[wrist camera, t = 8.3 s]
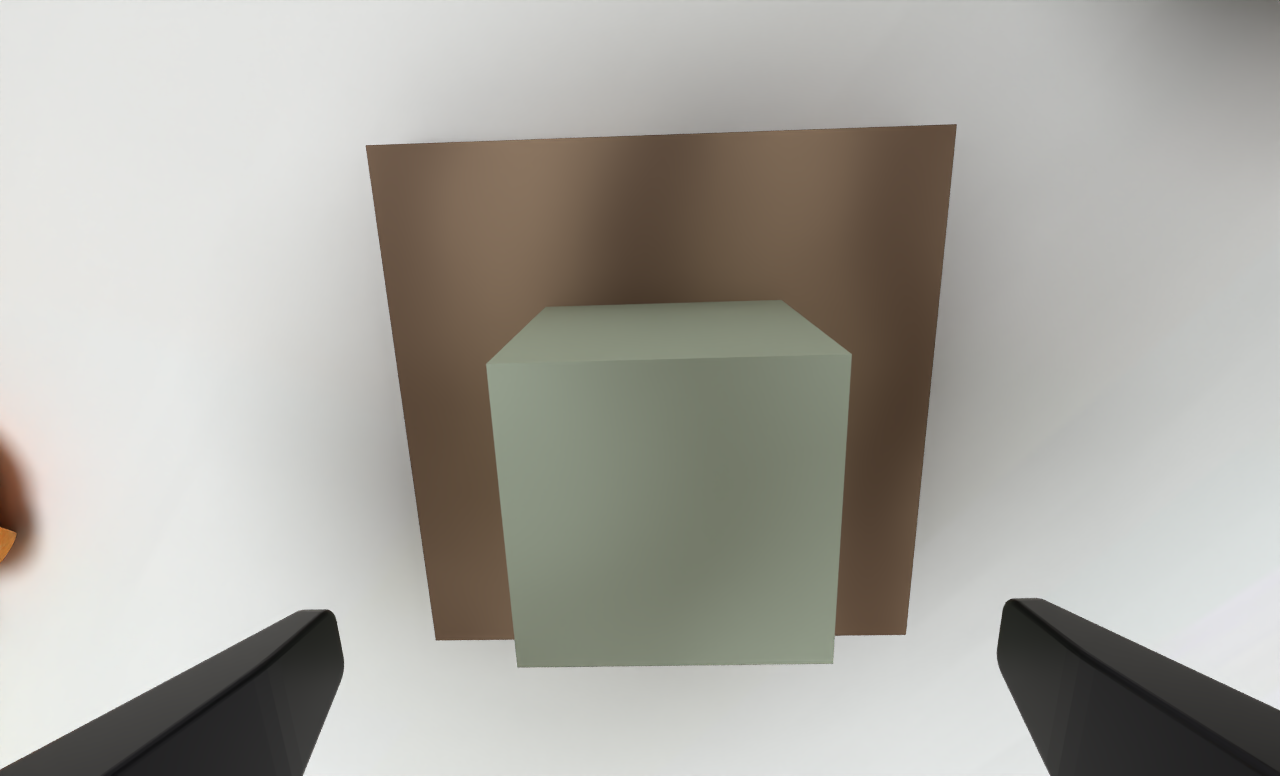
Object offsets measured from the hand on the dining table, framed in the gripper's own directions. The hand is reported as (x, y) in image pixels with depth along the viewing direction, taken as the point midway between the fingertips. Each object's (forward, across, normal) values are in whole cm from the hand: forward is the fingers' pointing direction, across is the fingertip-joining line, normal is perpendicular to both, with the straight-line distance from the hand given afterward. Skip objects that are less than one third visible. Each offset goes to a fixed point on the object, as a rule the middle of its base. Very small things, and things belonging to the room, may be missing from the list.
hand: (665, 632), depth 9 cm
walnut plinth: (+11, 0, 0) cm, 11 cm away
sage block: (+9, 0, 0) cm, 9 cm away
